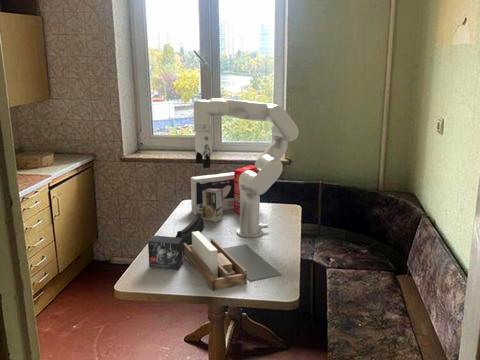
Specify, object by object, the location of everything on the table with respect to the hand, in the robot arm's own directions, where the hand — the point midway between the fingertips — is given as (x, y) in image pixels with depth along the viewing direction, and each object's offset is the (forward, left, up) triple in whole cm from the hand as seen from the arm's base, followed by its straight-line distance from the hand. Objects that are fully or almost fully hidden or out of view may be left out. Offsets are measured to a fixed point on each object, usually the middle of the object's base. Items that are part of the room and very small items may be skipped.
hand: (202, 165), depth 217 cm
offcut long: (+4, +30, -37) cm, 48 cm away
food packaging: (-37, -32, -37) cm, 61 cm away
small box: (+24, +20, -37) cm, 48 cm away
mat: (-9, +30, -37) cm, 48 cm away
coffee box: (-15, -27, -37) cm, 48 cm away
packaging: (-24, -42, -37) cm, 61 cm away
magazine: (+7, 0, -37) cm, 38 cm away
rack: (+7, +30, -37) cm, 48 cm away
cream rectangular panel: (+11, +30, -37) cm, 49 cm away
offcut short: (+4, +33, -34) cm, 48 cm away
